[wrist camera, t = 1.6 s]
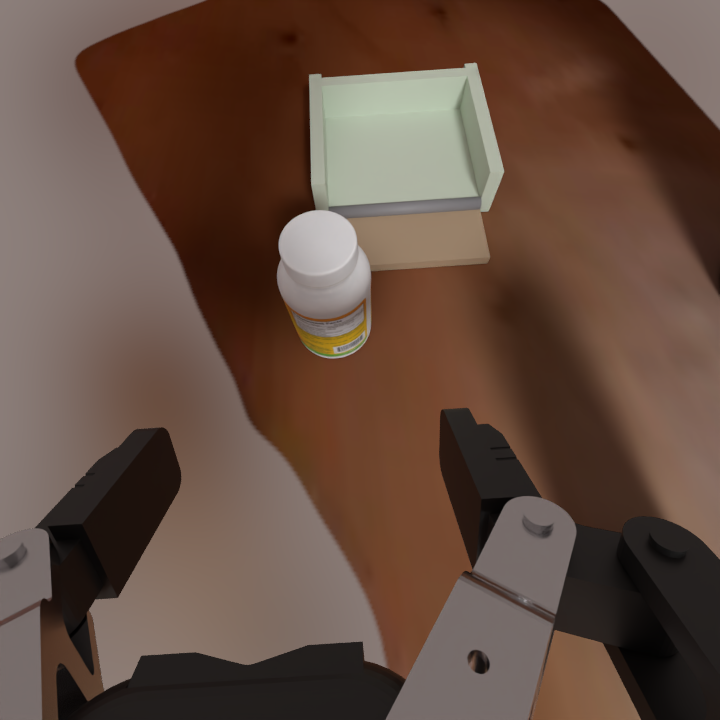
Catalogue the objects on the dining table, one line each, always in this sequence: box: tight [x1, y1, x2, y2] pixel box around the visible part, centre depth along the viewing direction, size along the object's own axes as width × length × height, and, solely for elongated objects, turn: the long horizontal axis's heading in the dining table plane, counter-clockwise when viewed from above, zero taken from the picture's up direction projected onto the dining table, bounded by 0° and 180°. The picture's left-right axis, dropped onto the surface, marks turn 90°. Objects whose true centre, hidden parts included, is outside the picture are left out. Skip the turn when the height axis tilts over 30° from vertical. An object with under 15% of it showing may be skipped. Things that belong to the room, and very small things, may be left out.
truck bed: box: [309, 63, 504, 271], centre depth 31 cm, size 14×17×4 cm
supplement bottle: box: [277, 210, 371, 358], centre depth 24 cm, size 5×5×10 cm
